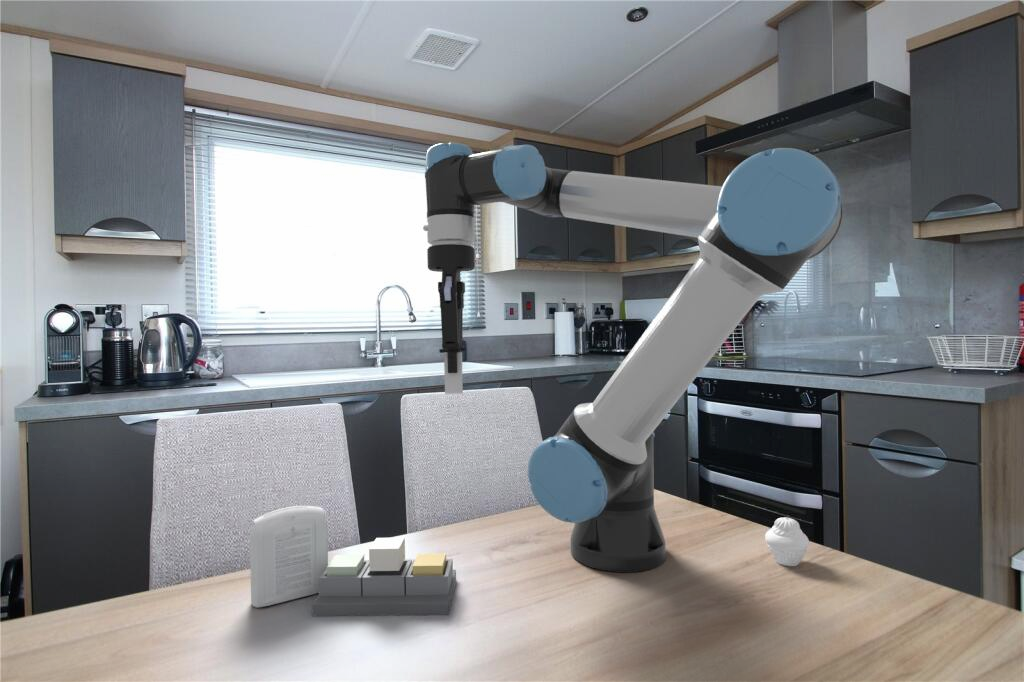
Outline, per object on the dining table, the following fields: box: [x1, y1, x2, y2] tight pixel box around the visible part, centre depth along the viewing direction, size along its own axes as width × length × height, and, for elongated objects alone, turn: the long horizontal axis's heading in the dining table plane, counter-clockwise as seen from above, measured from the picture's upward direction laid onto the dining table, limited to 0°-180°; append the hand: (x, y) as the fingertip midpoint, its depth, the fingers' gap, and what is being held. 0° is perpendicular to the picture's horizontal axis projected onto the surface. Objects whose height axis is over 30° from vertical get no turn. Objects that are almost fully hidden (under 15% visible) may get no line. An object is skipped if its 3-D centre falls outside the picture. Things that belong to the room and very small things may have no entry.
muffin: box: [764, 516, 810, 567], centre depth 88 cm, size 6×6×7 cm
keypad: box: [311, 558, 457, 617], centre depth 79 cm, size 18×10×4 cm, turn 89°
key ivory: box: [368, 536, 406, 571], centre depth 79 cm, size 4×4×3 cm
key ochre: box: [413, 553, 447, 575], centre depth 79 cm, size 4×4×3 cm
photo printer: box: [249, 505, 329, 608], centre depth 80 cm, size 10×4×12 cm, turn 123°
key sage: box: [327, 554, 365, 576], centre depth 79 cm, size 4×4×3 cm
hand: (453, 392), depth 92 cm, fingers closed
